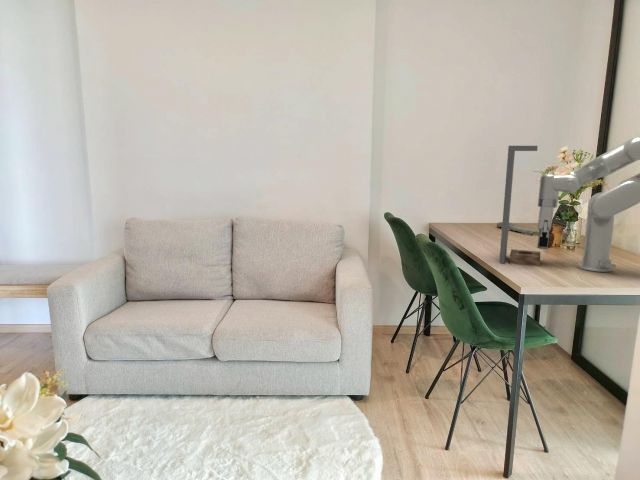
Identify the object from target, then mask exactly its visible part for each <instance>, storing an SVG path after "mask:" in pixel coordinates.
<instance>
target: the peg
mask: <svg viewBox="0 0 640 480" xmlns="http://www.w3.org/2000/svg"><path fill="white" fill-rule="evenodd" d="M542 230H544V229H542ZM549 231H550V230H548V239H549ZM538 232H539V235H538V237H537V239H538V240H537V247H536V248H537V249H539V250H548V248H549V247H548V244H547V247H541V246H539V241H540V237H541V229H539V230H538Z"/></svg>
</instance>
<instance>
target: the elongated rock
mask: <svg viewBox="0 0 640 480" xmlns="http://www.w3.org/2000/svg"><path fill="white" fill-rule="evenodd" d="M502 222H503V221H500V222H497V223H496V227H497V228H499V227H501V228H502ZM501 228H500V229H501ZM508 229H509V230H513V231H512V232H515V231H518V232H517V233H520V232H521V233H520V234H522V233H526V234H532V235H531V236H533V235H538V236H539V230H538V229H537V230H536V229H532V228H529V227H523V226H522V225H519V224H517V223H515V222H514V223H512V222H509V228H508ZM509 230H508V231H509ZM526 234H525V235H526Z"/></svg>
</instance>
